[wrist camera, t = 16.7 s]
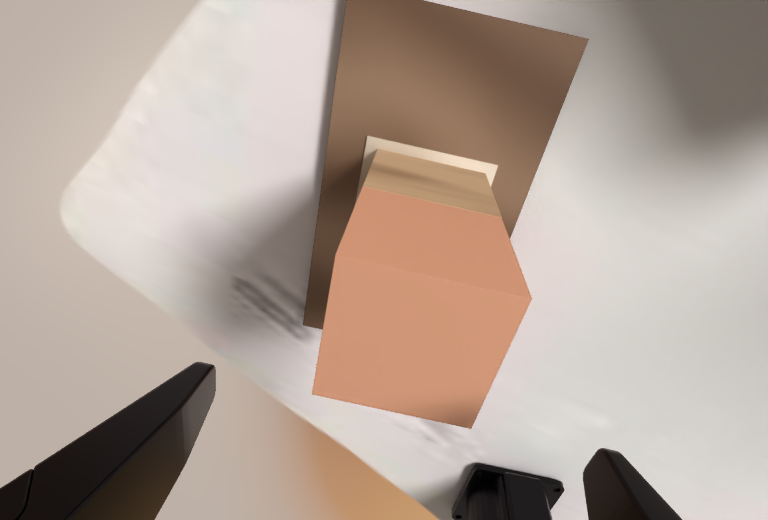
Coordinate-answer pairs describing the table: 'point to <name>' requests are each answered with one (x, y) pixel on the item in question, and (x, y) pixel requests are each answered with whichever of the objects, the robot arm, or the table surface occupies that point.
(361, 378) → the terracotta cube
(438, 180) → the oak cube
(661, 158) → the table surface
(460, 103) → the brown flat panel
